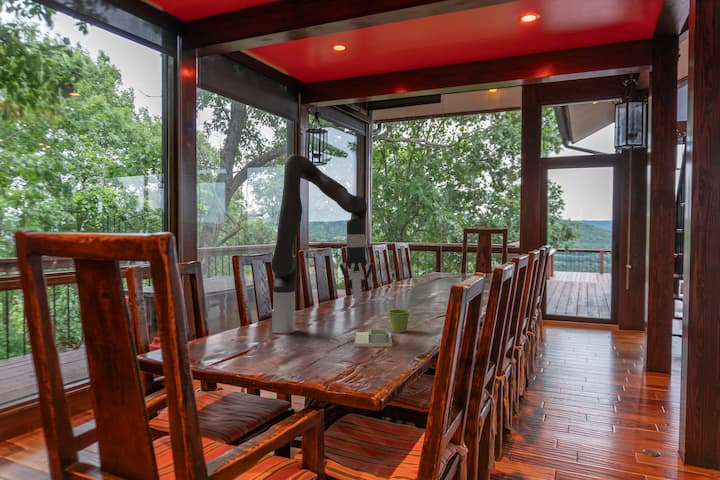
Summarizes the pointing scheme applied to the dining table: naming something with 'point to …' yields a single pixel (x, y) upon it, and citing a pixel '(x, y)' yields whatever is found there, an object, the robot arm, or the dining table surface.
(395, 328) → the plant pot
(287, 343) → the dining table surface
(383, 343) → the beige rectangular tray
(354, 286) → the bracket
